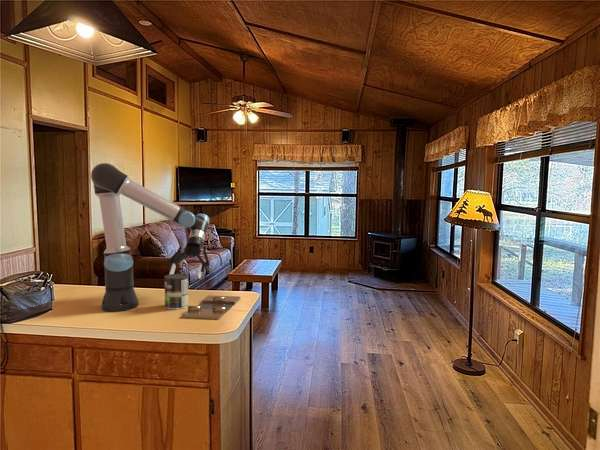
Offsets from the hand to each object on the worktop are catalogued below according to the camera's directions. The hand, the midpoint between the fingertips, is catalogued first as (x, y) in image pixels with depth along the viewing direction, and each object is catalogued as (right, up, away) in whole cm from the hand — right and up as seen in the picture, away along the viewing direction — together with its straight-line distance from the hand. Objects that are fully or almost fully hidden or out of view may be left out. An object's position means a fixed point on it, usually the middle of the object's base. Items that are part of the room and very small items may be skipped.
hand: (184, 277), depth 185 cm
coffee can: (-2, -13, -5) cm, 14 cm away
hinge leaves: (+15, -13, -6) cm, 21 cm away
